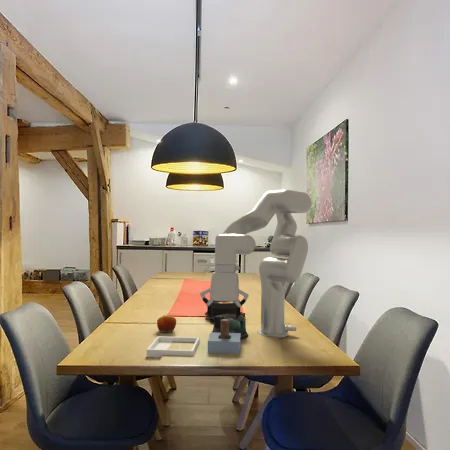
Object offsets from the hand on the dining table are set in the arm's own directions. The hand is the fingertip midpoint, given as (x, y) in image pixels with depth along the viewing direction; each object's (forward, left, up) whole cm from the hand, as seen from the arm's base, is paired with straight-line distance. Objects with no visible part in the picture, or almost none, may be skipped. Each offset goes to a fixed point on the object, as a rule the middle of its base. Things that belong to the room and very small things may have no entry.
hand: (223, 317), depth 144 cm
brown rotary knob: (-1, -17, -13) cm, 21 cm away
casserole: (+4, -51, -13) cm, 52 cm away
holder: (0, -1, -12) cm, 12 cm away
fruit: (+26, -24, -13) cm, 37 cm away
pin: (0, -1, -11) cm, 11 cm away
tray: (+18, 0, -12) cm, 21 cm away
